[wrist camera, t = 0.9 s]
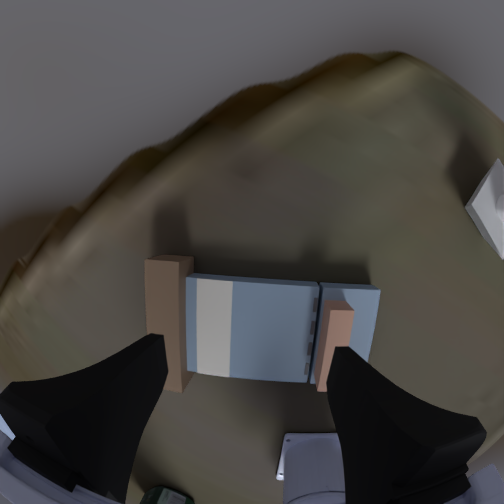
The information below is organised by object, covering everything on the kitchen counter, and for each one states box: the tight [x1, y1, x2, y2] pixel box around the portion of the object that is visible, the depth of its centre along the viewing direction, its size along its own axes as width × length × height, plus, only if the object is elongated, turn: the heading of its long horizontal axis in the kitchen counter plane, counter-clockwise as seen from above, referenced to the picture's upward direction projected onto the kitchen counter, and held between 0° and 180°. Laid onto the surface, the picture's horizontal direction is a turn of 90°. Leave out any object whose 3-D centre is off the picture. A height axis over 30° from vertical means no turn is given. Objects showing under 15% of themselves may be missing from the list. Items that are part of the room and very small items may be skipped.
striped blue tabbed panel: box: [145, 254, 319, 393], centre depth 23 cm, size 12×14×4 cm
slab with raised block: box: [308, 282, 381, 392], centre depth 21 cm, size 9×5×5 cm, turn 177°
